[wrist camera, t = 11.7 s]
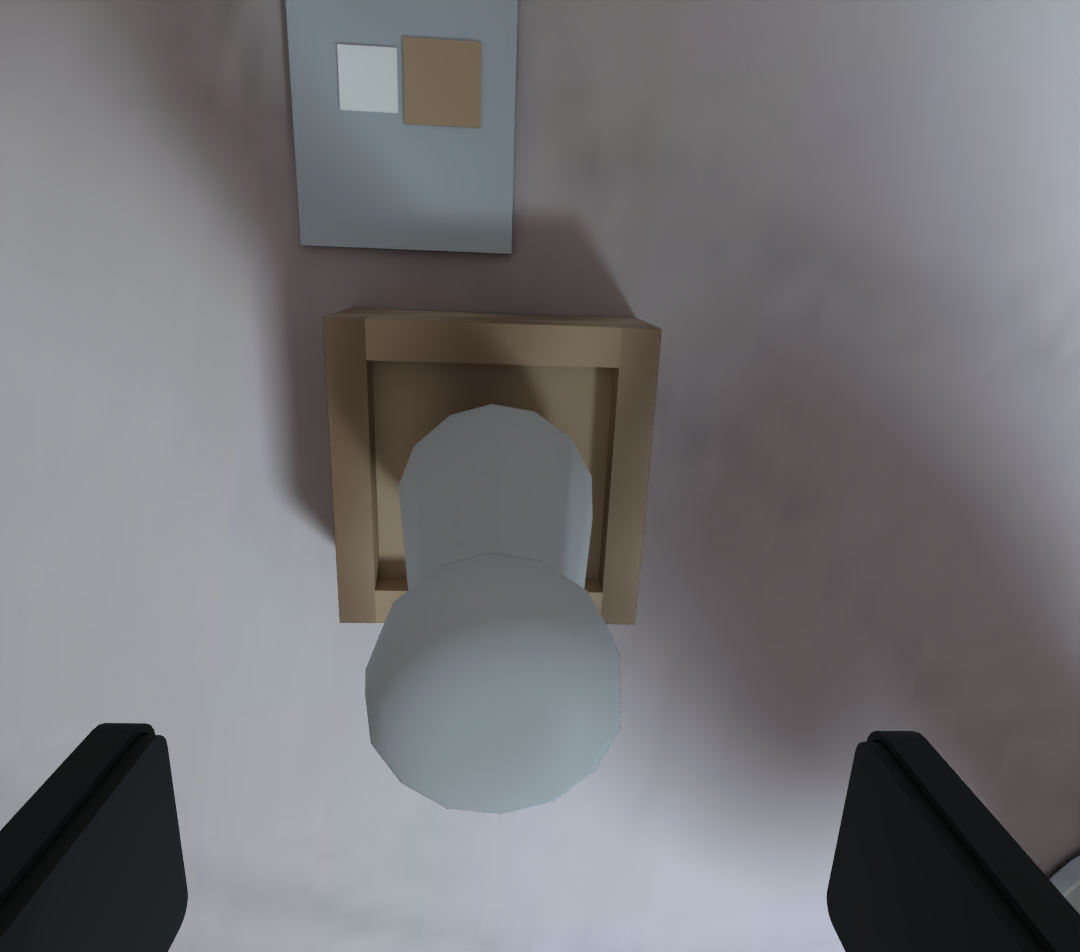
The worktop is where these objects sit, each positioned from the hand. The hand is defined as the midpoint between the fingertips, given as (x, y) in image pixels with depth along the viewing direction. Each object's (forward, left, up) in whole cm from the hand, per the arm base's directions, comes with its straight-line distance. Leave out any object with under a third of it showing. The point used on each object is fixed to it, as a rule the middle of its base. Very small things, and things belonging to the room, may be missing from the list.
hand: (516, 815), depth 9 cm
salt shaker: (0, 0, -15) cm, 15 cm away
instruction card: (+3, -12, -17) cm, 21 cm away
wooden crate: (0, 0, -17) cm, 17 cm away
